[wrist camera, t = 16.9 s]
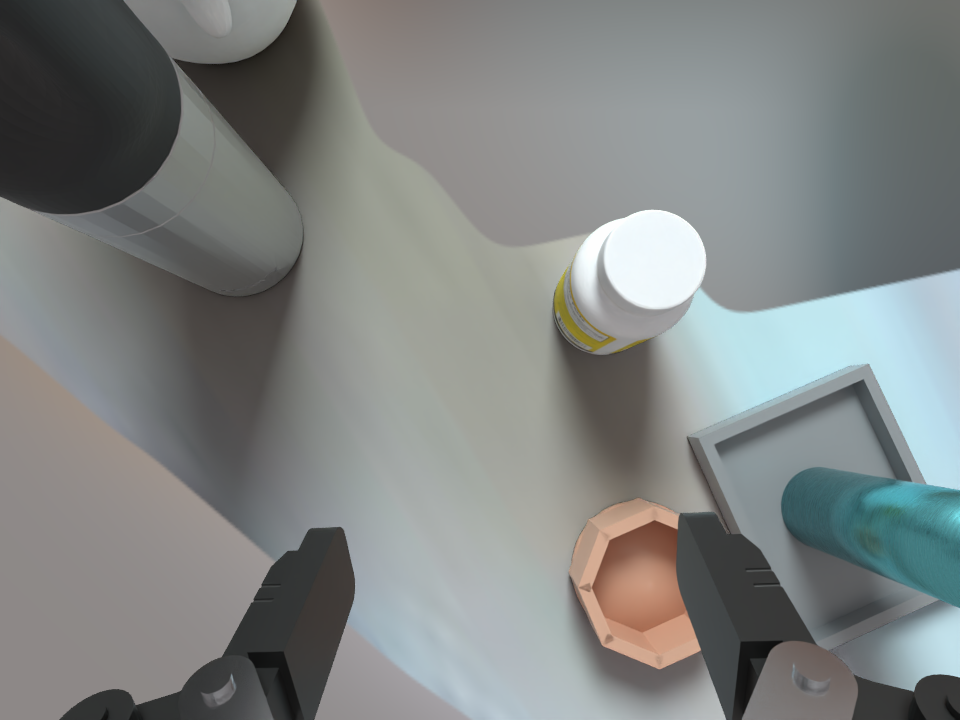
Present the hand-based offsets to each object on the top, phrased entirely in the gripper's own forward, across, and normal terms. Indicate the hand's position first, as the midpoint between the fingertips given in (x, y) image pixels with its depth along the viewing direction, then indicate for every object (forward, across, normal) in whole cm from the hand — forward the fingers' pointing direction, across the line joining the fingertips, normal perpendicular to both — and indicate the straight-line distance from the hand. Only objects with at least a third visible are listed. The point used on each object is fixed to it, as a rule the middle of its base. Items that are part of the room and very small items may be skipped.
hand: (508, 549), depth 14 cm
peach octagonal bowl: (+21, -8, +20) cm, 30 cm away
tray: (+23, -21, +17) cm, 36 cm away
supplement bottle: (+29, -6, +3) cm, 30 cm away
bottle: (+23, -20, +17) cm, 35 cm away
